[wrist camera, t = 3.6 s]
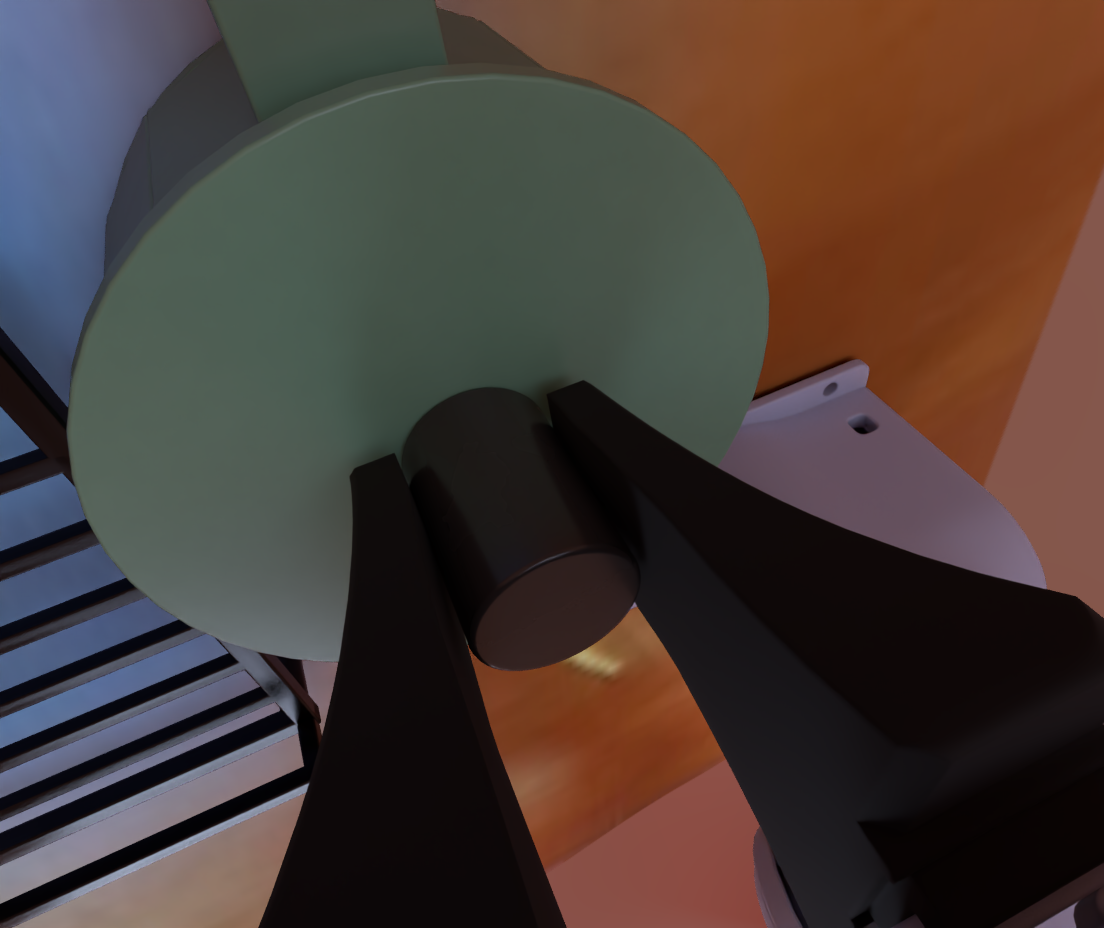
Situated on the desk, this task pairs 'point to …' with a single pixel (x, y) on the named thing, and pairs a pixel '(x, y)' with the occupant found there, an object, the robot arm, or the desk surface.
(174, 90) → the pot
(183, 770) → the rack
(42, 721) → the desk surface
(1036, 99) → the desk surface
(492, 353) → the lid
